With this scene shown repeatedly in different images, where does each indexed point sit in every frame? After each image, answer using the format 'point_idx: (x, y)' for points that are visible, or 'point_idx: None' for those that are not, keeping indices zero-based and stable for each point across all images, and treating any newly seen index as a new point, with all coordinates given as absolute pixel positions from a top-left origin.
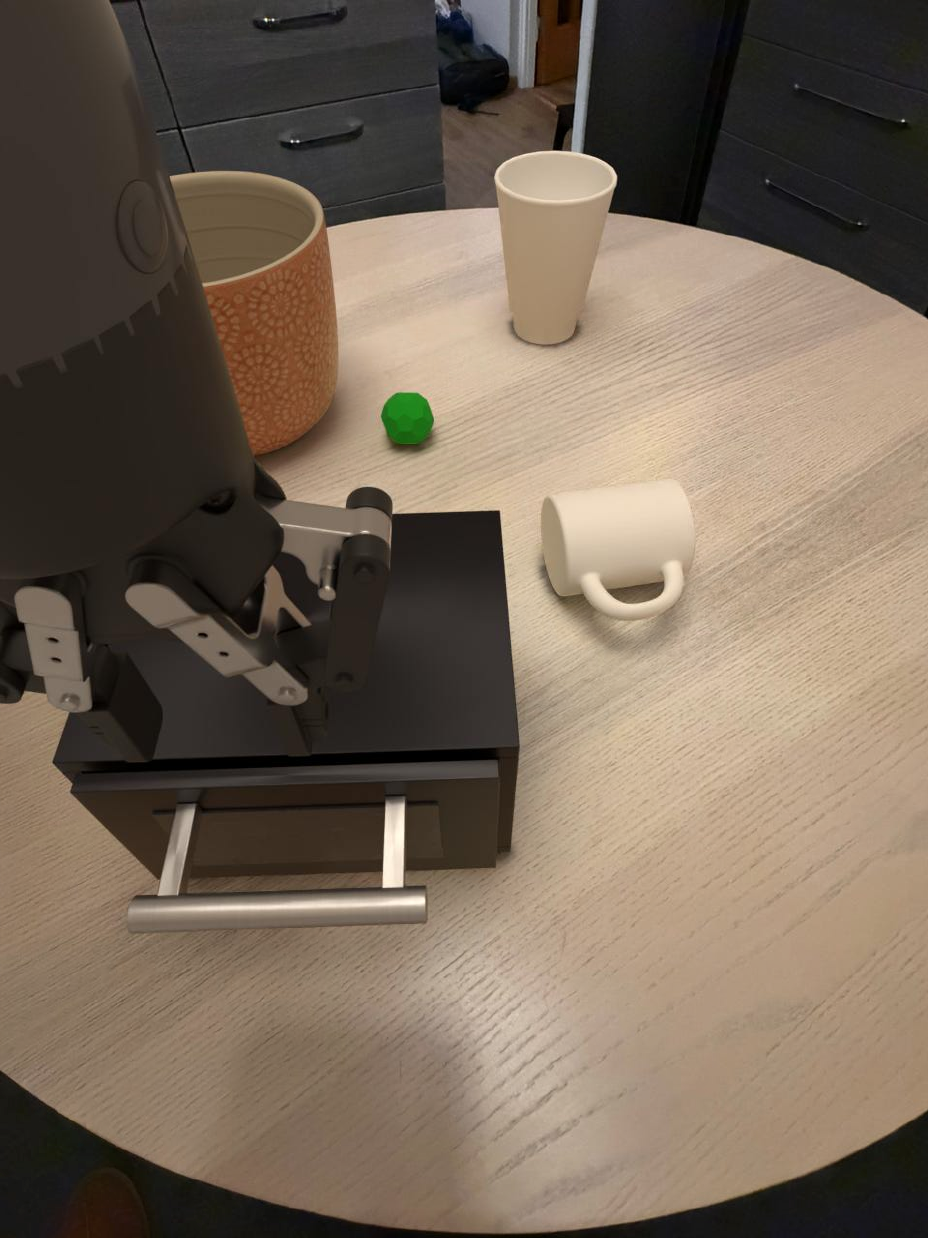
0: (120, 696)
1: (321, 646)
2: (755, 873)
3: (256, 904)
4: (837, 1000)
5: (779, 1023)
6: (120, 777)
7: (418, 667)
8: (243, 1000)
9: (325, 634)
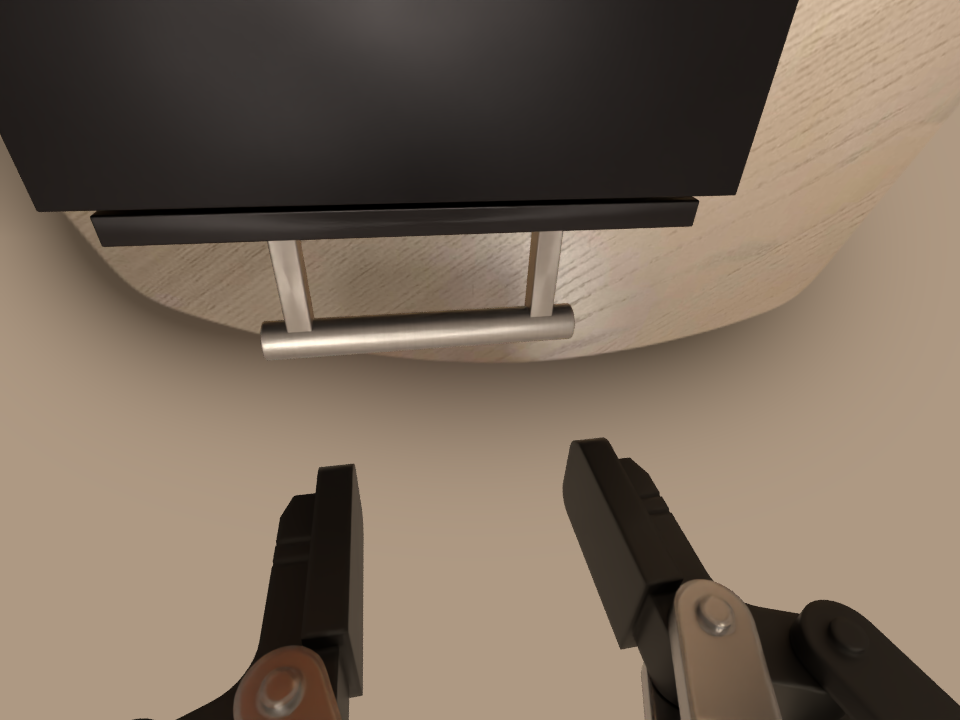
0: (358, 649)
1: (785, 713)
2: (802, 139)
3: (404, 341)
4: (795, 242)
5: (747, 256)
6: (172, 224)
7: (638, 32)
8: (332, 245)
9: (802, 705)
